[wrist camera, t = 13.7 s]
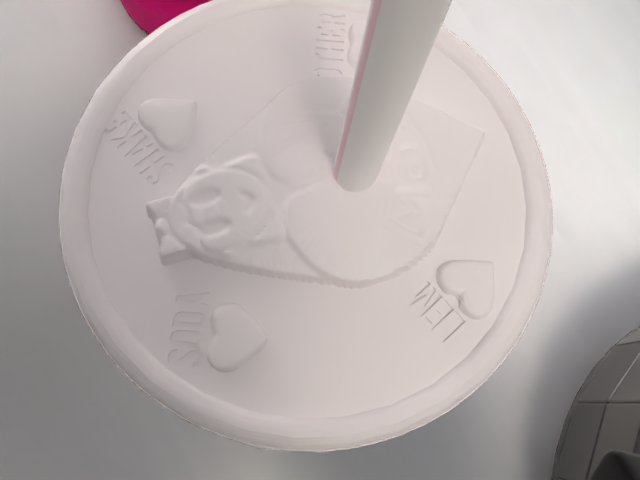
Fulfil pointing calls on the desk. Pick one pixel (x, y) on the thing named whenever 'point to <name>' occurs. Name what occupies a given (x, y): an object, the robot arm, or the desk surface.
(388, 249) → the smoothie
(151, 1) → the pepper mill
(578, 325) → the desk surface
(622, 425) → the pan
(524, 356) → the desk surface
